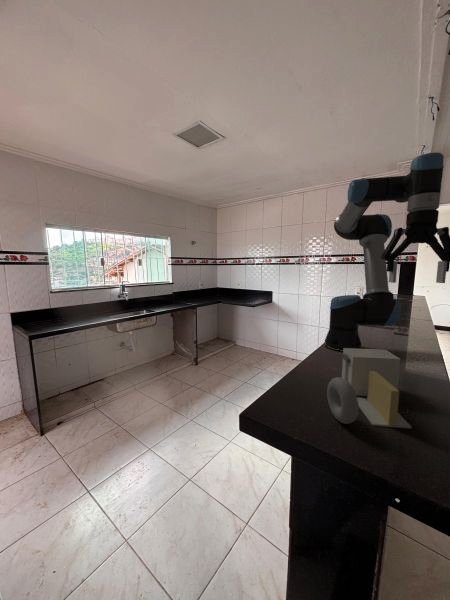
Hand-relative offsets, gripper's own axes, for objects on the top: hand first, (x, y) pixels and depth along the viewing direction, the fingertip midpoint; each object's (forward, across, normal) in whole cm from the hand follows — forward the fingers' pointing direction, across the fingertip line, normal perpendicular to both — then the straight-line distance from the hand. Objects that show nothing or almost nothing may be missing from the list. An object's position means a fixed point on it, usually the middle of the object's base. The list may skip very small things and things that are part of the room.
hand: (415, 282), depth 78 cm
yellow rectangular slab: (+30, -18, -22) cm, 42 cm away
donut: (+31, -28, -27) cm, 50 cm away
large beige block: (+31, -16, -10) cm, 36 cm away
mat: (+31, -18, -22) cm, 42 cm away
